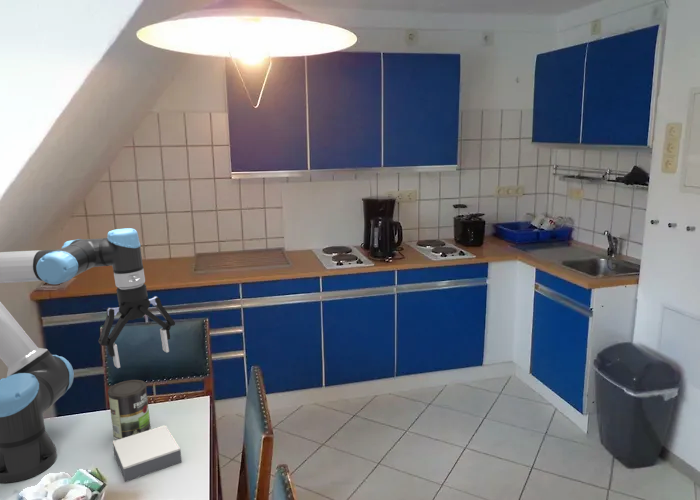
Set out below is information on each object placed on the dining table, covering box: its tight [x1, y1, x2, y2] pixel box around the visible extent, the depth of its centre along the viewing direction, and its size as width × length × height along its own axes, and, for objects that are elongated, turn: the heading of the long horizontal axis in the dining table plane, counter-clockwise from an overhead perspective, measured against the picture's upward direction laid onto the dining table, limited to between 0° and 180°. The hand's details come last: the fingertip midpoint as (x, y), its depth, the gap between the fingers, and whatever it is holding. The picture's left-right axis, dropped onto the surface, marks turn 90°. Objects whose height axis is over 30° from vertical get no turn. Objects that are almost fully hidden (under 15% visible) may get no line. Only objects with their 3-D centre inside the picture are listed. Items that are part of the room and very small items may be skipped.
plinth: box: [112, 424, 182, 482], centre depth 140 cm, size 14×14×4 cm
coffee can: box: [107, 379, 152, 440], centre depth 151 cm, size 10×10×14 cm
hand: (142, 358), depth 146 cm, fingers open, 13 cm apart
